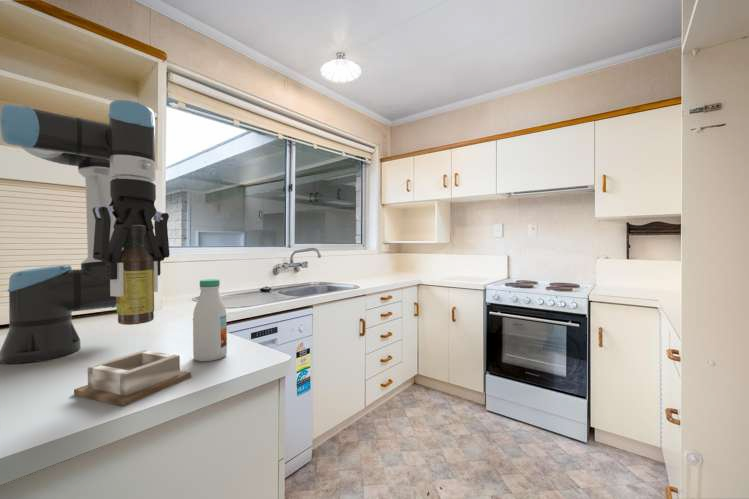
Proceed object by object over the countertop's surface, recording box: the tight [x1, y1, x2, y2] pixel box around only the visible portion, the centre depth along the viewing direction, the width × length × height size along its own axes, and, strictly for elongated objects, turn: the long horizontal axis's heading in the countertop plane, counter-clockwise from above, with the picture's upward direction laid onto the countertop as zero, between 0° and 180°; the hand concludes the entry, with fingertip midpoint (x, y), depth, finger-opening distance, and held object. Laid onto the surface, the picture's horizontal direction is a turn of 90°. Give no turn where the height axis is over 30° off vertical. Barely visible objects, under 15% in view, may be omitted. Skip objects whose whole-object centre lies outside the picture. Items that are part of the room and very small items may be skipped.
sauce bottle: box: [116, 225, 155, 326], centre depth 67 cm, size 6×6×20 cm
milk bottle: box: [192, 278, 228, 362], centre depth 84 cm, size 8×8×20 cm
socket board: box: [73, 349, 192, 407], centre depth 67 cm, size 14×14×5 cm
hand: (135, 293), depth 67 cm, fingers closed on sauce bottle, 6 cm apart
